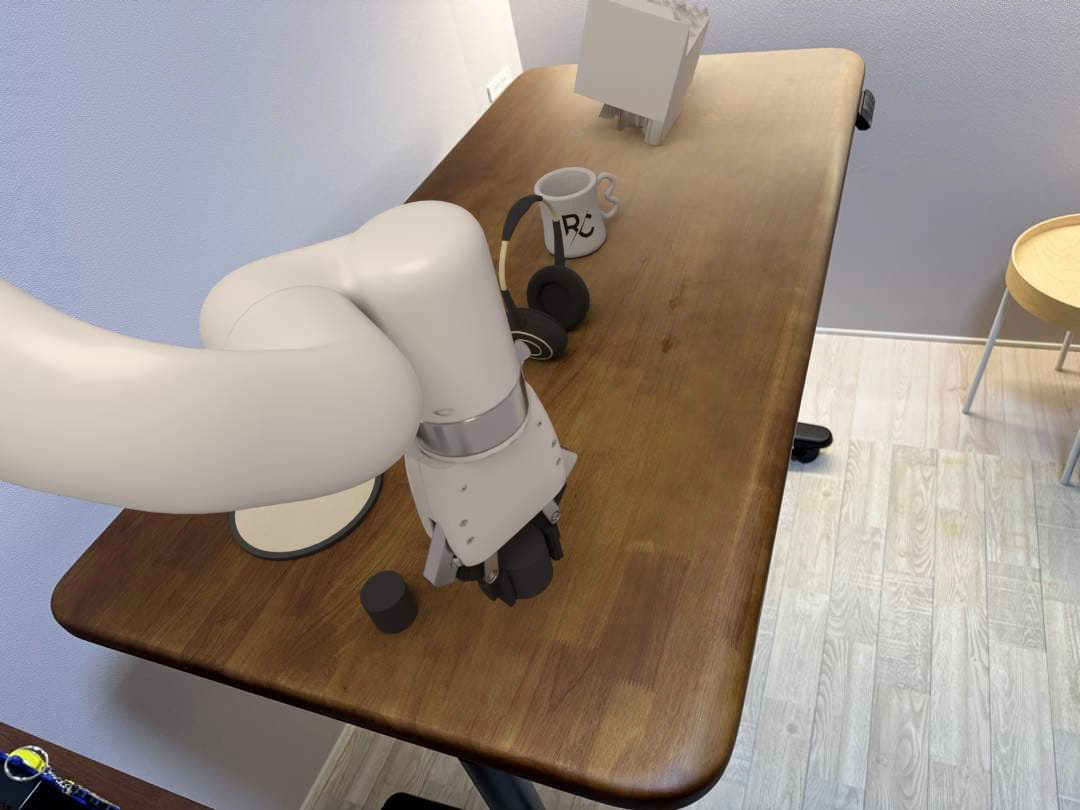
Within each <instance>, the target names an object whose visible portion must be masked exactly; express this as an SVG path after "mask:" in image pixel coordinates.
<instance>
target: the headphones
mask: <svg viewBox="0 0 1080 810" xmlns="http://www.w3.org/2000/svg"><path fill="white" fill-rule="evenodd" d="M538 201H541V202H543V203H544V204H545V205H546V206H547V207H548V208H549V210H550V212H551V214H552V218H553V220H552V223H553V231H554V254H553V258H554V260H553V261H554V263H553V264H551V265H549V264H548V265H546V266H543V267H541V268H540V269H538V270H537V271H535V272H534V273H533V274H532V276H531V277H530V278H529V281H528V283H527V286H526V292H525V293H526V295H525V296H526V302H527V307H518V306H517V305H516V304H515V302H514V300H513V298H512V295H511V292H510V290H509V288H508V286H507V284H506V259H507V250H508V247H509V246H508V245H509V242H510V241H511V240H512V236H513V234H514V232H515V230H516V228H517V226H518V224H519V223H520V221H521V220H522V218H523V217H524V216H525V214H526V213H527V212H528V211H529V210H530V208H531V207H532V206H533V204H535V203H538ZM500 241H501V247H500V254H499V260H498V280H499V289H500V293H501V297H502V300H503V303H504V306H505V307H506V309H507V311H506V316H507V320H508V323H509V327H510V331H511V335H512V338H513V342H514V343H516V342H517V341H522V342H524V343H525V344H526V345H527V346H528V348H529V349H530V351H531V357H530V358H532V359H535V360H548V359H553V358H555V357H558V356H560V355H562V354H563V353H564V352H565V350H566V348H567V346H568V344H569V335H568V331H570V330H572V329H575V328H576V327H578V326H579V325H580V324H582V322H583V321H584V320H585V318H586V317H587V315H588V313H589V310H590V307H591V306H590V305H591V297H590V292H589V289H588V286H587V284H586V282H585V280H584V279H583V278H582V277H581V276H580V275H579V273H577V272H576V271H575V270H573V269H572V268H570V267H568V266H566V258H565V257H564V246H563V238H562V231H561V225H560V220H559V219H558V216H557V213H556V211H555V209H554V207H553V206H552V204H551V203H550V202H549V201H548V200H546V199H544V198H543V197H542V196H540V195H536V194H535V193H534V194H528V195H525V196H523V197H521V198H519V199H518V200H516V202H514V203H513V205H511V207H510V209H509V210H508V212H507V215H506V217H505V221H504V223H503V228H502V233H501V240H500Z"/></svg>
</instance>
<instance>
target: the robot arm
mask: <svg viewBox="0 0 1080 810" xmlns="http://www.w3.org/2000/svg"><path fill="white" fill-rule="evenodd" d="M506 313H507V311H506V309H505V303H504V300H503V296H502V293H501V290H500V284H499V282H498V278H497V274H496V270H495V267H494V263H493V259H492V255H491V251H490V246H489V244H488V241H487V238H486V235H485V231H484V229H483V227H482V226H481V224H480V222H479V221H478V220H477V219H476V217H474V215H473V214H472V213H471V212H469V211H468V210H467V209H465V208H464V207H462V206H460V205H458V204H455V203H452V202H448V201H443V200H418V201H413V202H412V201H411V202H408V203H404V204H400V205H396V206H394V207H392V208H389V209H387V210H384V211H382V212H380V213H379V214H377V215H375V216H373V217H371V218H370V219H368V220H367V221H366V222H365V223H364V224H362V225H361V226H360V227H359V228H357V230H355V231H354V232H350V233H348V234H344V235H341V236H339V237H335V238H332V239H328V240H325V241H321V242H318V243H314V244H311V245H305V246H302V247H299V248H295V249H291V250H287V251H282V252H279V253H276V254H272V255H269V256H265V257H262V258H259V259H256V260H254V261H251V262H248V263H246V264H244V265H242V266H239V267H237V268H236V269H234V270H233V271H231V272H229V273H228V274H227V275H225V276H224V277H222V278H221V279H220V280H219V281H218V282H217V283H216V284H215V285H214V286H213V287H212V288H211V290H210V291H209V292H208V294H207V295H206V296H205V299H204V301H203V303H202V306H201V308H200V313H199V318H198V323H199V324H198V330H199V337H200V341H201V343H202V347H203V348H199V347H190V346H189V347H188V346H180V345H174V344H169V343H162V342H157V341H151V340H147V339H142V338H137V337H134V336H130V335H125V334H122V333H118V332H115V331H113V330H109V329H106V328H103V327H100V326H97V325H94V324H91V323H89V322H87V321H84V320H82V319H79V318H78V317H77V318H76V317H74V316H72V315H70V314H67V313H66V312H63V311H62V310H59V309H57V308H55V307H54V306H51V305H49V304H47V303H45V302H44V301H42V300H41V299H38V298H37V297H35V296H34V295H32V294H30V293H28V292H26V291H25V290H23V289H22V288H19V287H18V286H16V285H14V284H12V283H11V282H9V281H7V280H6V279H4V278H2V277H0V481H2V482H6V483H9V484H11V485H14V486H18V487H21V488H26V489H28V490H33V491H37V492H41V493H45V494H50V495H54V496H60V497H64V498H70V499H75V500H80V501H86V502H89V503H95V504H100V505H104V506H105V505H106V506H111V507H117V508H123V509H127V510H128V509H129V510H133V511H134V510H135V511H141V512H147V513H159V514H169V515H170V514H171V515H206V514H219V513H230V511H238V510H244V509H250V508H257V507H264V506H271V505H277V504H284V503H291V502H297V501H303V500H309V499H314V498H319V497H323V496H327V495H332V494H335V493H338V492H341V491H345V490H348V489H351V488H353V487H356V486H358V485H361V484H363V483H365V482H367V481H369V480H371V479H373V478H375V477H376V476H378V475H380V474H382V473H383V474H384V473H385V472H386V471H387V470H389V468H391V467H393V465H394V464H395V463H397V462H398V461H399V460H400V459H401V458H402V457H403V456H404V465H405V470H406V477H407V478H408V479H407V480H408V484H409V489H410V491H411V496H412V498H413V502H414V504H415V508H416V510H417V513H418V517H419V519H420V521H421V524H422V526H423V528H424V531H425V533H426V534H427V536H428V537H429V538H430V544H429V548H428V553H427V556H426V561H425V565H424V569H423V572H422V577H423V579H425V580H426V581H427V582H428V583H429V584H431V585H432V586H433V587H434V588H436V589H437V588H441V587H444V586H445V587H446V586H448V585H451V584H454V583H456V581H457V582H458V581H460V582H461V583H466V582H475V581H476V582H477V584H478V586H479V589H480V590H481V592H482V593H483V594H484V595H485V596H486V597H487V598H488V599H489V600H491V601H492V602H496V601H497V600H498V599H499V600H501V601H502V603H504V604H505V605H507V606H508V607H509V608H513V607H514V606H515V605H516V604H517V600H518V599H517V598H516V595H515V592H514V589H513V587H512V584H511V581H510V579H509V576H508V574H507V572H506V571H505V570H504V569H502V568H501V567H500V566H499V564H498V549H499V548H501V547H502V546H503V545H504V544H505V543H506V542H507V541H508V540H509V539H511V538H512V537H513V536H514V535H515V534H516V533H517V532H518V531H519V530H520V529H521V528H523V527H524V526H525V525H526V524H527V523H528V522H530V523H532V524H534V525H535V526H537V527H538V528H539V529H540V530H541V531H542V533H543V535H544V538H545V541H546V545H547V548H548V552H549V555H550V558H551V560H553V561H554V562H557V561H558V562H559V561H561V560H562V559H563V558H564V557H565V554H564V550H563V547H562V543H561V538H562V536H561V533H560V529H559V526H558V522H559V520H560V519H561V517H562V514H563V513H562V512H563V511H562V510H561V508H560V506H559V505H560V503H561V501H562V498H563V496H564V493H565V491H566V488H567V484H568V482H567V480H566V479H569V477H570V476H571V473H572V472H573V469H574V468H575V466H576V464H577V462H578V460H579V455H578V454H577V453H576V452H575V451H572V450H571V449H569V448H568V447H566V446H563V445H561V444H560V441H559V438H558V436H557V432H556V430H555V427H554V425H553V423H552V421H551V418H550V417H549V415H548V413H547V411H546V408H545V407H544V405H543V403H542V401H541V399H540V398H539V396H538V394H537V392H535V390H534V389H533V387H532V386H531V384H529V383H528V382H527V381H526V379H525V375H524V371H523V368H524V365H525V364H526V361H528V360H529V359H530V358H531V351H530V349H529V348H528V346H527V345H526V344H525V343H524V342H522V341H517V342H516V343H514V342H513V338H512V335H511V331H510V327H509V323H508V320H507V316H506Z"/></svg>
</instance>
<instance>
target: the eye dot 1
mask: <svg viewBox="0 0 1080 810" xmlns="http://www.w3.org/2000/svg"><path fill="white" fill-rule="evenodd" d="M359 601H360V605H361V606H362V608H363V609H364V611H365V612H366V614H367V615H368V616H369V618H370V619H371V621H372V623H373V624H374V626H375V627H376V629H377V630H379V631H380V632H382V633H384V634H391V635H392V634H396V633H400V632H402V631H404V630H406V629H407V628H409V627H410V626H411V625H412V624H413V623H414V621H415V620H416V617H417V615H418V612H419V611H418V610H419V605H418V602H417V600H416V598H415V596H414V594H413V593H412V590H411V589H410V587H409V585H408V584H407V581H406V580H405V579H404V577H403V575H401V574H400V573H399V572H397V571H394V570H383V571H379V572H377V573H374V574H373V575H372V576H370V577H369V578H367V580H366V581H365V582H364V583H363V585H362V587H361V589H360V592H359Z"/></svg>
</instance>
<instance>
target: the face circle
mask: <svg viewBox="0 0 1080 810" xmlns="http://www.w3.org/2000/svg"><path fill="white" fill-rule="evenodd" d="M383 482H384V472H383V473H382V474H380V475H378V476H376V477H375V478H373V479H371V480H369V481H367V482H365V483H363V484H361V485H358V486H356V487H353V488H351V489H348V490H345V491H341V492H338V493H335V494H332V495H327V496H323V497H319V498H314V499H309V500H303V501H297V502H291V503H284V504H277V505H271V506H264V507H257V508H250V509H244V510H238V511H230V512H228V514H229V515H228V523H229V524H228V525H229V530H230V533H231V535H232V537H233V539H234V541H235V542H236V543H237V545H239V547H240V548H241V549H242V550H243V551H245V552H246V553H248V554H249V555H251V556H253V557H255V558H258V559H261V560H267V561H271V562H272V561H273V562H274V561H275V562H283V561H284V562H285V561H293V560H299V559H303V558H306V557H310V556H313V555H315V554H318V553H321V552H323V551H324V550H326V549H328V548H331V547H332V546H334V545H336V544H338V543H339V542H340V541H342V540H344V539H345V538H346V537H347V536H348V535H350V534H351V533H352V532H354V530H356V529H357V528H358V527H359V526H360V525H361V524H362V523H363V522H364V521H365V519H366V518H367V517H368V516H369V514H370V513H371V511H372V510H373V508H374V507H375V505H376V503H377V501H378V499H379V496H380V494H381V492H382V488H383V485H384V483H383Z"/></svg>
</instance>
